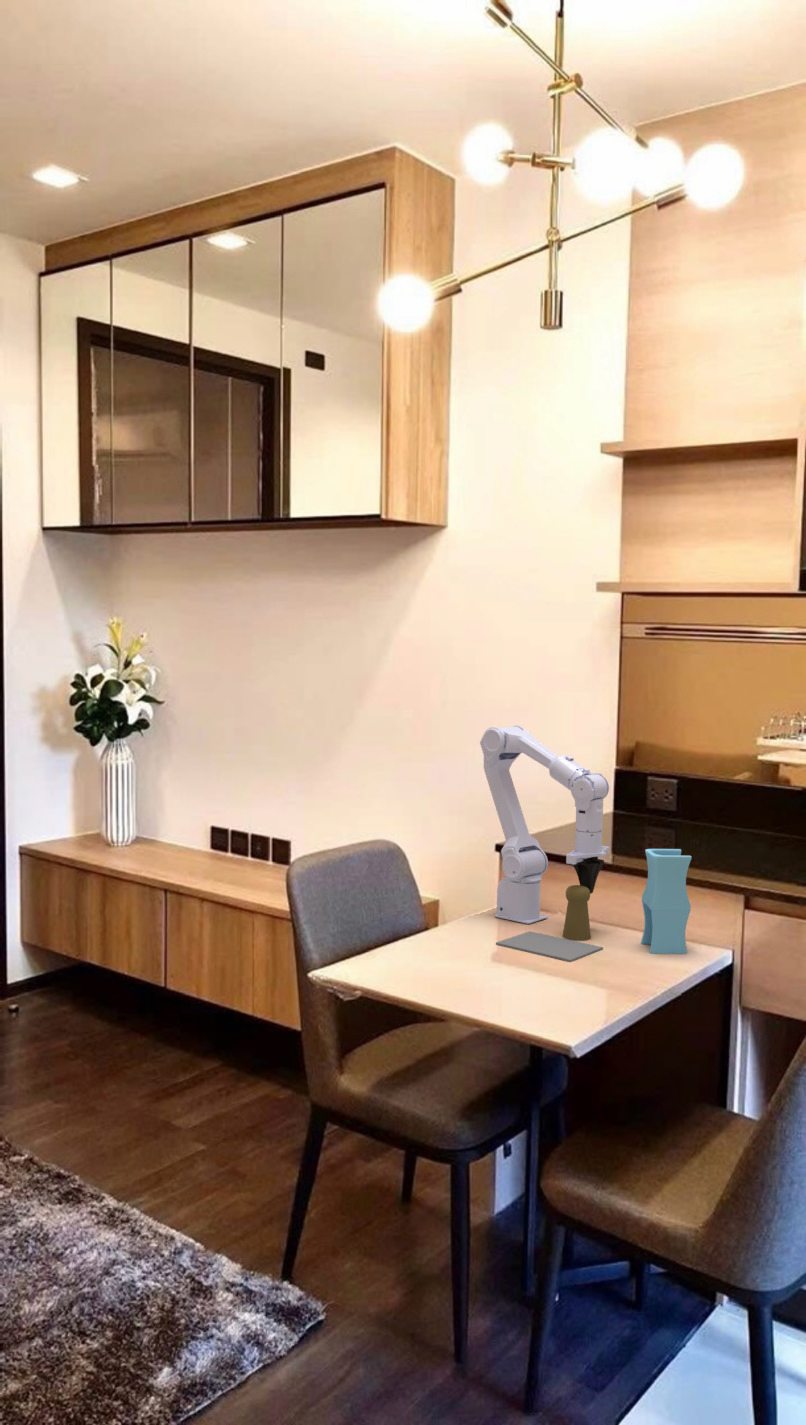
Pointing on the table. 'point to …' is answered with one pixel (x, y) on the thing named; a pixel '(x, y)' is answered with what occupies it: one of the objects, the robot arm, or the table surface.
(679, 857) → the vase
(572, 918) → the olive waisted cylinder
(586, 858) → the robot arm
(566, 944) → the mat
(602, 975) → the table surface
